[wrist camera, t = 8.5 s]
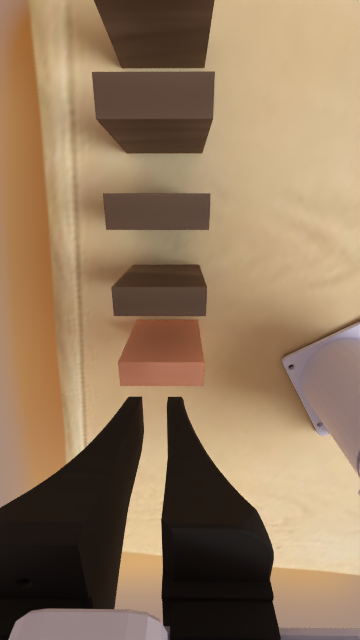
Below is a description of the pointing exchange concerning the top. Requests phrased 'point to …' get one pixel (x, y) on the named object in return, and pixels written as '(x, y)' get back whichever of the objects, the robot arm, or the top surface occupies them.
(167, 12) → the domino
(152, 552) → the top surface
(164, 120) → the domino
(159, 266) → the domino
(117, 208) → the domino
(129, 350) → the terracotta domino
